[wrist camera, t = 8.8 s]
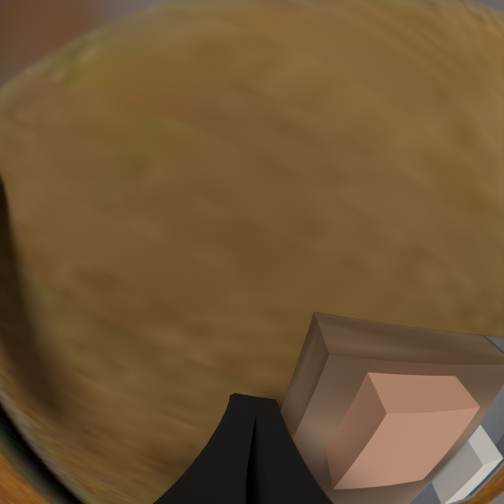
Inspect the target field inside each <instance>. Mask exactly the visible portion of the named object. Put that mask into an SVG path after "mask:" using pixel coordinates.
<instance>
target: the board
mask: <svg viewBox="0 0 504 504" xmlns="http://www.w3.org/2000/svg"><path fill="white" fill-rule="evenodd" d="M367 372H370V373H383V374H399V375H423V376H456V377H457V379H458V380H459V381H460V382H461V384H462V385H463V386H464V387H465V388H466V390H467V391H468V392H469V393H470V395H471V396H472V397H473V398H474V400H475V401H476V402H477V403H478V405H479V406H480V408H479V410H478V411H477V413H476V414H475V416H474V417H473V419H472V420H471V421H470V423H469V424H468V426H467V427H466V428H465V430H464V431H463V433H462V434H461V435H460V437H459V438H458V439H457V440H456V442H455V443H454V444H453V446H452V447H451V448H450V449H449V450H448V452H447V453H446V454H445V455H444V457H443V458H442V459H441V460H440V461H439V462H438V464H437V465H436V466H435V467H434V468H433V469H432V470H431V471H430V472H429V474H428V475H427V476H426V477H425V478H424V479H423V480H418V481H413V482H407V483H401V484H394V485H386V486H377V487H367V488H354V489H333V488H332V482H331V476H330V471H329V465H328V460H327V455H326V449H327V447H328V445H329V444H330V442H331V440H332V439H333V437H334V435H335V434H336V432H337V430H338V428H339V427H340V425H341V423H342V421H343V419H344V418H345V416H346V414H347V412H348V410H349V408H350V406H351V404H352V403H353V401H354V399H355V397H356V395H357V393H358V391H359V389H360V387H361V385H362V383H363V381H364V379H365V376H366V374H367ZM503 384H504V354H503V353H502V352H500V351H499V350H498V349H497V348H496V347H495V346H494V345H493V344H491V343H490V342H489V341H488V340H487V339H486V338H484V337H483V336H482V335H472V334H462V333H453V332H445V331H436V330H428V329H420V328H413V327H405V326H398V325H391V324H384V323H378V322H371V321H365V320H358V319H352V318H346V317H340V316H334V315H328V314H322V313H317V312H314V315H313V318H312V321H311V324H310V327H309V330H308V333H307V337H306V340H305V343H304V346H303V349H302V352H301V355H300V357H299V360H298V363H297V366H296V369H295V372H294V375H293V377H292V380H291V383H290V386H289V389H288V391H287V394H286V397H285V399H284V402H283V405H282V407H281V410H280V412H281V414H282V417H283V419H284V422H285V424H286V426H287V429H288V431H289V433H290V435H291V437H292V439H293V441H294V443H295V445H296V447H297V449H298V451H299V453H300V455H301V457H302V458H303V460H304V462H305V464H306V465H307V467H308V469H309V470H310V472H311V473H312V475H313V476H314V478H315V480H316V481H317V482H318V484H319V485H320V487H321V488H322V489H323V491H324V492H325V494H326V495H327V496H328V497H329V499H330V500H331V501H332V502H333V504H407V503H408V502H409V501H410V500H411V499H413V498H414V497H415V496H416V495H417V494H418V493H419V492H420V491H421V490H422V489H423V488H424V487H425V486H426V485H427V484H428V483H429V482H430V481H431V480H432V479H433V478H434V477H435V476H436V475H437V474H438V472H439V471H440V470H441V469H442V468H443V467H444V466H445V465H446V464H447V462H448V461H449V460H450V459H451V458H452V457H453V455H454V454H455V453H456V452H457V451H458V449H459V448H460V447H461V446H462V444H463V443H464V442H465V441H466V439H467V438H468V437H469V435H470V434H471V433H472V431H473V430H474V429H475V427H476V426H477V425H478V423H479V422H480V420H481V419H482V418H483V416H484V415H485V413H486V412H487V410H488V409H489V407H490V406H491V404H492V402H493V401H494V399H495V398H496V396H497V395H498V393H499V391H500V390H501V388H502V386H503Z"/></svg>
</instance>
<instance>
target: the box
mask: <svg viewBox="0 0 504 504" xmlns="http://www.w3.org/2000/svg"><path fill="white" fill-rule="evenodd" d="M485 338H486V339H487V340H488V341H489V342H490V343H491V344H493V345H494V346H495V347H496V348H497V349H498V350H499V351H500V352H502V353H503V354H504V337H493V336H485ZM479 425H481V426H482V428H483V429H484V431H485V432H486V433H487V435H488V436H489V438H490V439H491V441H492V442H493V444H494V445H495V446H496V448H497V449H498V451H499V452H500V454H501V455H502V457H503V459H502V460H501V461H500V462H499V463H498V464H497V466H496V467H495V468H494V469H493V470H492V471H491V472H490V473H489V474H488V475H487V476H486V477H485V478H484V479H483V480H482V482H481V483H480V484H479V485H478V486H476V487H475V488H474V489H473V490H472V491H471V492H470V493H469V494H468V495H467V496H466V497H465V498H464V499H461V500H459V501H456V502H453V503H450V504H458V503H461V502H463V501H466V500H469V499H471V498H472V497H473V496H474V495H475V494H476V493H477V492H479V491H480V490H481V489H482V488H483V487H484V486H485V485H486V484H487V483H488V482H489V481H490V480H491V479H492V478H493V477H494V475H495V474H496V473H497V472H498V471H499V470H500V469H501V468H502V467H503V466H504V384H503V386H502V388H501V390H500V391H499V393H498V395H497V396H496V398H495V399H494V401H493V402H492V404H491V406H490V407H489V409H488V410H487V412H486V413H485V415H484V416H483V418H482V419H481V420H480V422H479V423H478V425H477V426H476V427H475V429H474V430H473V431H472V433H471V434H470V435H469V437H468V438H467V439H466V441H465V442H464V443H463V444H462V446H461V447H460V448H459V449H458V451H457V452H456V453H455V454H454V455H453V457H452V458H451V459H450V460H449V461H448V462H447V464H446V465H445V466H444V467H443V468H442V469H441V470H440V471H439V472H438V474H437V475H436V476H435V477H434V478H433V479H432V480H431V481H430V482H429V483H428V484H427V485H426V486H425V487H424V488H423V489H422V490H421V491H420V492H419V493H418V494H417V495H416V496H415V497H414V498H413V499H411V500H410V501H409V502H408V503H407V504H441V503H440V500H439V498H438V496H437V493H436V491H435V489H434V486H433V484H432V481H433V480H434V479H435V478H436V477H437V476H438V475H439V474H440V473H441V472H442V471H443V470H444V468H445V467H446V466H447V465H448V464H449V463H450V462H451V461H452V459H453V458H454V457H455V456H456V455H457V454H458V452H459V451H460V450H461V449H462V447H463V446H464V445H465V444H466V442H467V441H468V440H469V439H470V437H471V436H472V435H473V433H474V432H475V431H476V429H477V428H478V427H479Z"/></svg>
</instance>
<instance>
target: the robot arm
mask: <svg viewBox="0 0 504 504" xmlns="http://www.w3.org/2000/svg"><path fill="white" fill-rule="evenodd" d="M153 504H333V502H332V501H331V500H330V499H329V497H328V496H327V495H326V494H325V492H324V491H323V489H322V488H321V487H320V485H319V484H318V482H317V481H316V480H315V478H314V476H313V475H312V473H311V472H310V470H309V469H308V467H307V465H306V464H305V462H304V460H303V458H302V457H301V455H300V453H299V451H298V449H297V447H296V445H295V443H294V441H293V439H292V437H291V435H290V433H289V431H288V429H287V426H286V424H285V422H284V419H283V417H282V414H281V412H280V409H279V406H278V403H277V402H276V401H275V400H274V399H267V398H260V397H254V396H248V395H243V394H237V393H234V394H232V395H230V399H229V403H228V406H227V409H226V411H225V413H224V416H223V418H222V420H221V422H220V423H219V425H218V427H217V429H216V430H215V432H214V434H213V435H212V437H211V438H210V440H209V442H208V443H207V445H206V446H205V447H204V449H203V450H202V451H201V453H200V454H199V455H198V457H197V458H196V459H195V461H194V462H193V463H192V465H191V466H190V467H189V468H188V469H187V470H186V472H185V473H184V474H183V475H182V476H181V477H180V478H179V479H178V480H177V481H176V482H175V484H174V485H173V486H172V487H171V488H170V489H168V490H167V491H166V492H165V493H164V494H163V495H162V496H161V497H160V498H159V499H158V500H157V501H156V502H154V503H153Z"/></svg>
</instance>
